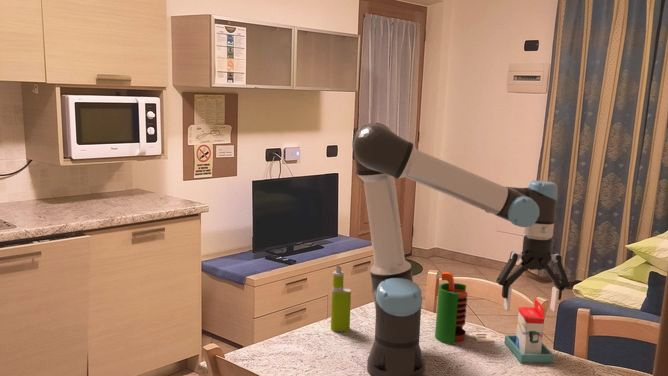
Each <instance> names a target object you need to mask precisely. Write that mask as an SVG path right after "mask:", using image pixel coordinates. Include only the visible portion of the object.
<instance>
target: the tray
mask: <svg viewBox="0 0 668 376" xmlns="http://www.w3.org/2000/svg"><path fill="white" fill-rule="evenodd" d="M504 345H505V346H506V347H507V349H509V351H510V352H511V353H512V354H513V356H514V357H515V358H516V360H517V361H518V362H519V363H520V364H544V365H545V364H546V365H547V364H548V365H549V364H552V365H553V363H555V354H554V353H553V351H551V350H550V349H549V348H548V346H546V345H545V343H544V342H542V348H541V354H523V353H522V352H521V351H520V350H519V349H518V347H517V346H516V334H511V335H510V334H504Z"/></svg>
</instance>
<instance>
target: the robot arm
mask: <svg viewBox="0 0 668 376" xmlns="http://www.w3.org/2000/svg"><path fill="white" fill-rule="evenodd" d="M352 151H353V155H354V161H355V162H354V163H355V169H356V176H357V177H358V178H360V179H361V180H362V182H363V187H364V193H365V194H364V197H365V201H366V209H367V217H368V218H367V219H368V224H369V226H368V227H369V231H370V232H369V233H370V239H371V246H372V252H373V253H372V254H373V262H374V263H373V265H372V266H371V267H370V268H369V269H370V270H369V271H370V272H369V273H370V278H371V290H372V291H371V292H372V296H373V301H374V307H375V308H374V309H375V325H374V327H375V328H374V341H373V344H372V346H371V349H370V352H369V355H368V357H367V359H366V360H367V362H366V370H367V372H368V374H369V375H371V376H424V375H425V370H426V369H425V367H426V364H425V361H424V360H425V359H424V356H423V354H422V353H423V352H422V349H421V347H420V334H421V332H420V331H421V314H422V304H423V296H422V295H423V293H422V289H421V287H420V285H419V284H418V283H416V282H414V278H413V271H412V270H413V269H412V264H411V263H410V262H408V261H407V260H406V258H405V250H404V243H403V235H402V227H401V220H400V219H401V218H400V211H399V210H400V209H399V203H398V196H397V188H396V187H397V186H396V179H398V180H400V179H402V178H403V179H404V178H406V179H408V180H410V181H413V182H415V183H418V184H420V185H423V186H426V187H427V188H429V189H432V190H435V191H437V192H440V193H441V194H444V195H446V196H449V197H451V198H454V199H456V200H458V201H460V202H463V203H466V204H468V205H471V206H474V207H475V208H477V209H480V210H483V211H485V212H484V213H487V214H492V215H495V216H497V217H498V218H500V219H503V220H505V221H508V222H510V223H511V224H512V225H514V226H517V227H520V228H524V230H523V231H524V232H523V233H524V236H523V240H522V250H521V253H517V252H515V251H511V252H510V255H509V259H508V260H507V262H506V264H505V266H504V267H503V269H502V270H501V272H500V273H499V274H498V276H497V278H496V280H495V281H496V283H497V284H498V285H499V286H502V289H501V296H502V298H503V300H504V301H503V308H504V309H505V311H507V312H508V311H510V310H511V301H512V300H511V299H512V292H513V291H512V290H513V289H512V287H511V285H513V284H514V282H516V281H517V280H518V279H519V278H520V276H521V275H522V274H524V273H525V272H527V271H528V270H531V271H535V270H537V271H542V270H544V272H545V273H546V275H547V276H548V277H549V279H550V280H551V282H552V283H553V284H554V286H552V288H551V296H550V297H551V299H550V306H549V307H550V308H549V309H550V310H551V311H552V312H553V313H557V312H558V303H559V301H561V300H562V293H563V291H564V290H565V289H566V288H567V289H568V288H570V286H571V285H570V282H569V279H568V277H567V274H566V271H565V268H564V266H563V263H562V262H563V261H562V259H563V257H562V256H561V254H559V253H557V252H556V253H555V252H554V254H551V252H552V245H553V240H552V237H553V235H554V227H555V217H556V210H557V209H556V208H557V202H558V194H559V193H558V192H559V191H558V185H557V184H556V183H555V182H552V181H549V180H547V181H546V180H531V181H530V182H529V185H527V186H528V187H515V186H513V187H512V186H503V185H501V184H499V183H496V182H495V181H491V180H489V179H487V178H485V177H482V176H481V175H480V176H479V175H478V174H475V173H473V172H471V171H468V170H466V169H464V168H461V167H459V166H456V165H455V164H452V163H449V162H448V161H445V160H442V159H440V158H438V157H435V156H433V155H431V154H428V153H426V152H424V151H421V150H419V149H417V148H416V145H415V143H413V142H411V141H408V140H406V139H404V138H402V137H401V136H399V135H398V134H397V133H395V132H394V131H392V130H391V129H390V127H388V126H387V125H386V124H383V123H381V122H380V123H379V122H370V123H366V124H364V125H362V126H360V127H359V128H358V129H357V131H356V132H355V133H354V136H353V138H352ZM395 178H396V179H395ZM520 259H521V262H520V263H519V264H517V262H518V261H519V260H520ZM551 261H552V262H553V263H554V266H555V269H556V272H557V275H558V277H559V278H558V277H557V276H556V274H555V273H554V271H553V270H552V269H551V267H550V265H549V263H550V262H551ZM516 264H517V265H518V266H517V267H516V268H515V269H514V267H515V266H516ZM513 269H514V270H513ZM559 279H560V280H559Z"/></svg>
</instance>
